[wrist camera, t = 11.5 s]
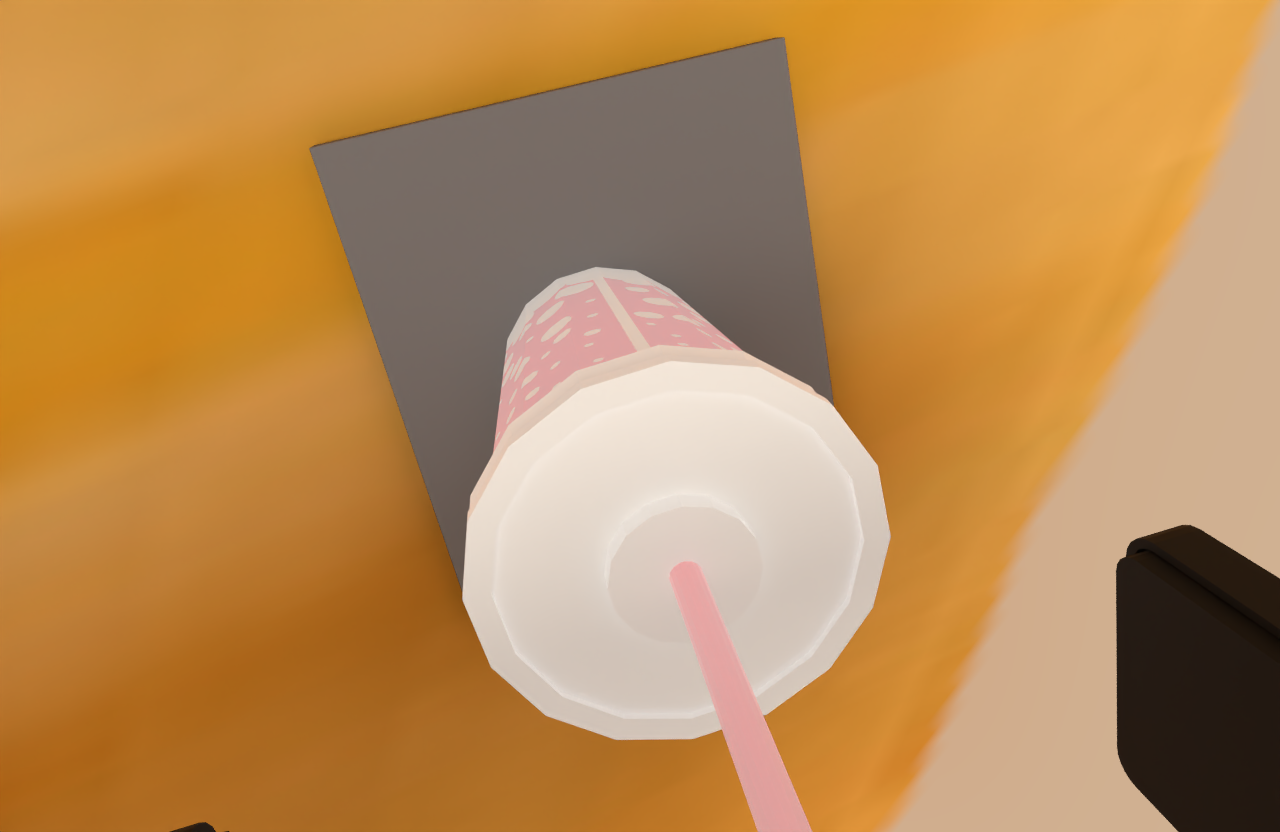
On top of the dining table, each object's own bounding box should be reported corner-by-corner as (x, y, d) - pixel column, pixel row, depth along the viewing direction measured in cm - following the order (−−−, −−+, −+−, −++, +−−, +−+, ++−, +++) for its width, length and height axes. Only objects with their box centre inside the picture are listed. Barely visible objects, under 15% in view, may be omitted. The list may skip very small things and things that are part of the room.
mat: (841, 515, 24) (849, 525, 24) (474, 614, 24) (474, 627, 23) (776, 38, 19) (783, 36, 19) (314, 145, 19) (309, 148, 18)
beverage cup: (488, 500, 22) (497, 1147, 9) (450, 246, 19) (385, 627, 7) (737, 466, 22) (1076, 1020, 10) (729, 218, 20) (1161, 511, 7)
